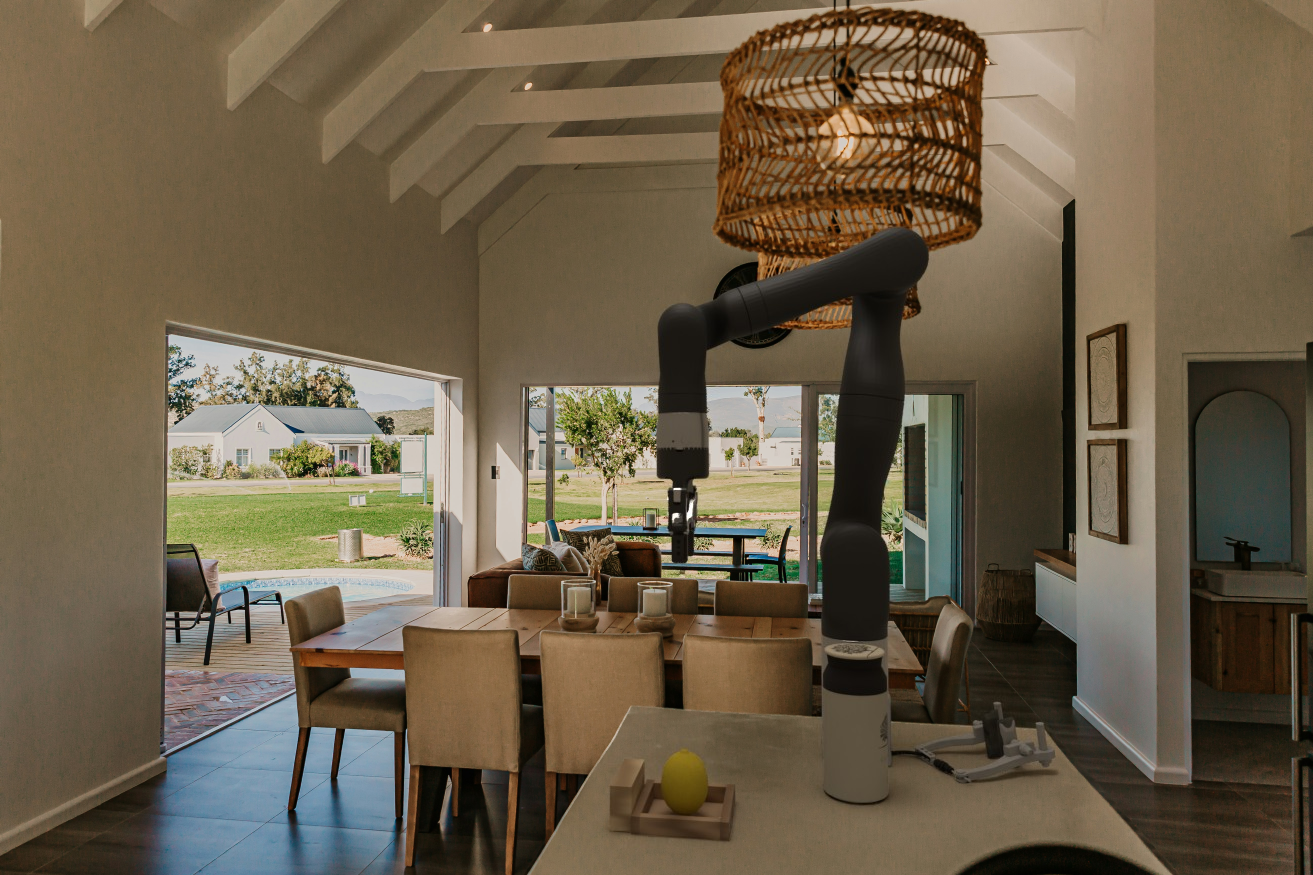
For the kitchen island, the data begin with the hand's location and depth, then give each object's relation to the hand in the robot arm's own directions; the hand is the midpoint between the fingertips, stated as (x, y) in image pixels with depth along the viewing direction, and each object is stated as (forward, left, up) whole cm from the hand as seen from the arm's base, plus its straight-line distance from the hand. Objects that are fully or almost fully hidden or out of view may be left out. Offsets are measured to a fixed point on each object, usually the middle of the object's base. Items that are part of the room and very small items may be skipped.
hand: (683, 559), depth 119 cm
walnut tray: (-2, +19, -29) cm, 35 cm away
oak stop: (+4, +20, -28) cm, 35 cm away
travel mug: (-23, +9, -28) cm, 38 cm away
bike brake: (-39, -3, -29) cm, 49 cm away
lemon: (-2, +20, -28) cm, 35 cm away
